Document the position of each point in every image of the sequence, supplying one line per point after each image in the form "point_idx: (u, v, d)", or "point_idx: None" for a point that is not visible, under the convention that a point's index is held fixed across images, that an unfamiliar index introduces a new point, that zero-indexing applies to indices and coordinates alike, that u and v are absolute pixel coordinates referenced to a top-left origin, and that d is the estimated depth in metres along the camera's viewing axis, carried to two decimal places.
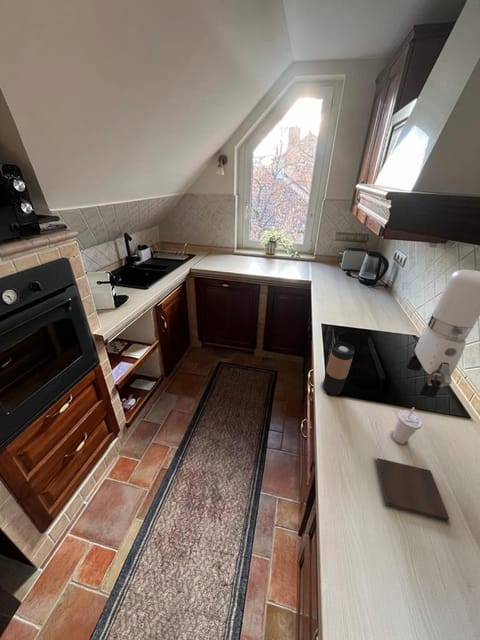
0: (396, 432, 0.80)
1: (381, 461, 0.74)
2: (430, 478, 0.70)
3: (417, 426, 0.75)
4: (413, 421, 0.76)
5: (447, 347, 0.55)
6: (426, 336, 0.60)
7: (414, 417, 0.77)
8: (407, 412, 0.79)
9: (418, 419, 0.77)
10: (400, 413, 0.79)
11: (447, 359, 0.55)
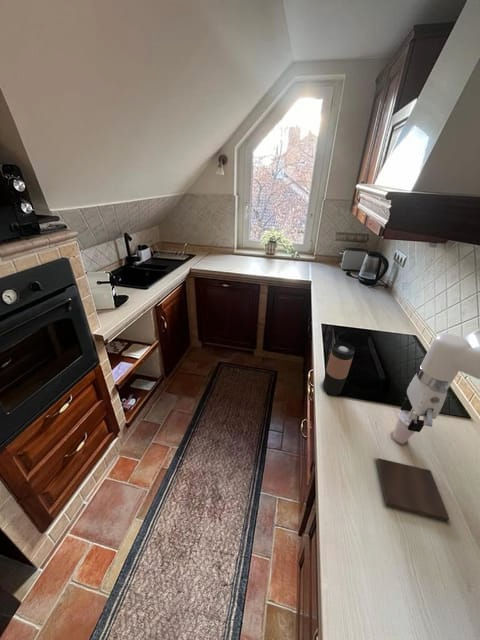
0: (396, 432, 0.80)
1: (381, 461, 0.74)
2: (430, 478, 0.70)
3: None
4: None
5: (432, 396, 0.66)
6: (416, 383, 0.72)
7: (414, 417, 0.77)
8: (407, 412, 0.79)
9: None
10: (400, 413, 0.79)
11: (432, 405, 0.67)
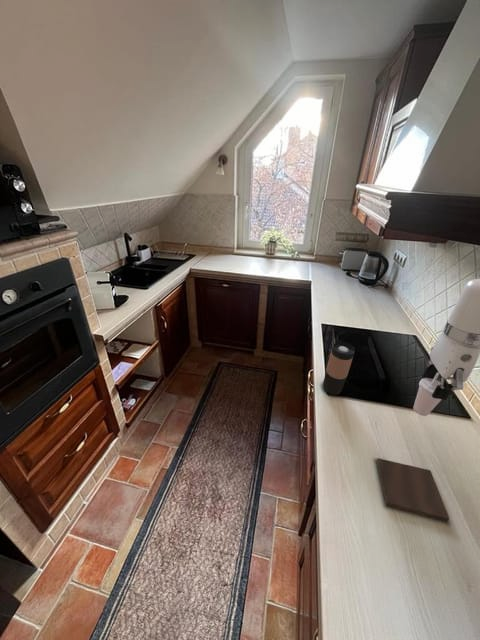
0: (417, 403, 0.71)
1: (381, 461, 0.74)
2: (430, 478, 0.70)
3: None
4: None
5: (463, 353, 0.57)
6: (441, 342, 0.63)
7: (438, 384, 0.68)
8: (430, 380, 0.70)
9: None
10: (422, 381, 0.69)
11: (463, 364, 0.58)
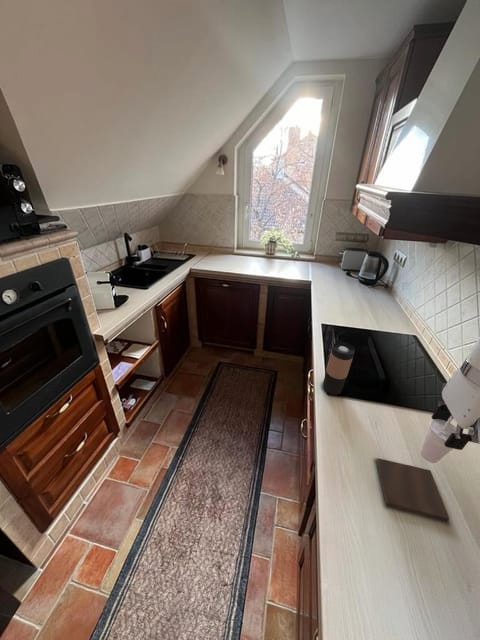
0: (426, 448, 0.60)
1: (381, 461, 0.74)
2: (430, 478, 0.70)
3: None
4: None
5: None
6: (458, 383, 0.52)
7: (451, 429, 0.58)
8: (441, 422, 0.59)
9: None
10: (432, 423, 0.59)
11: None
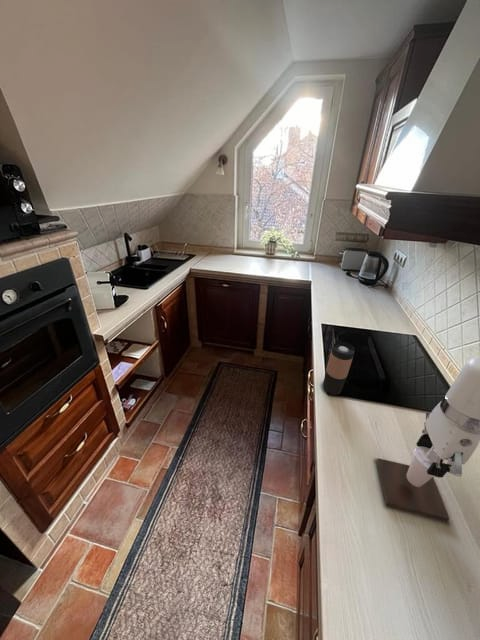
0: (411, 473, 0.65)
1: (381, 461, 0.74)
2: None
3: None
4: None
5: (462, 437, 0.51)
6: (438, 416, 0.57)
7: (434, 456, 0.62)
8: (425, 449, 0.64)
9: None
10: (416, 450, 0.63)
11: (462, 449, 0.52)
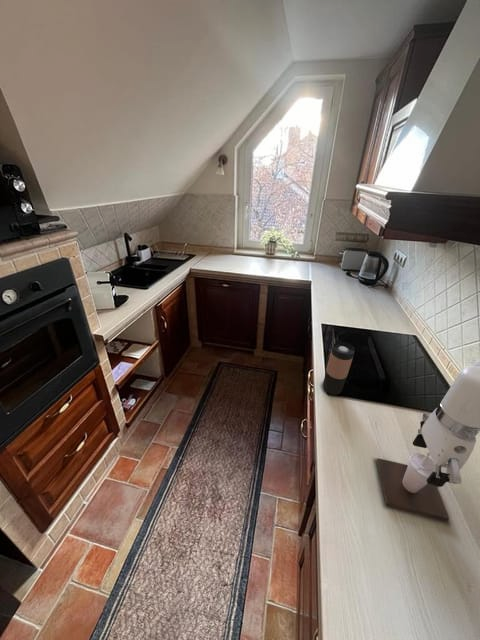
0: (406, 479, 0.66)
1: (381, 461, 0.74)
2: None
3: None
4: (428, 469, 0.62)
5: (456, 444, 0.52)
6: (434, 423, 0.58)
7: (429, 463, 0.64)
8: (420, 456, 0.65)
9: (434, 466, 0.63)
10: (411, 457, 0.65)
11: (456, 455, 0.53)
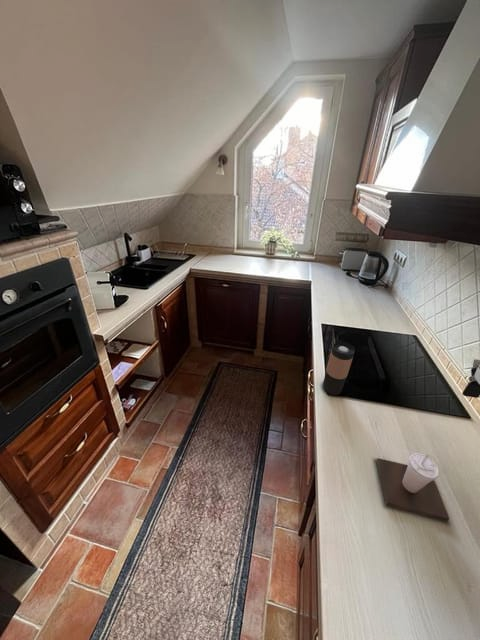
0: (406, 479, 0.66)
1: (381, 461, 0.74)
2: None
3: (433, 476, 0.61)
4: (428, 469, 0.62)
5: None
6: None
7: (429, 463, 0.64)
8: (420, 456, 0.65)
9: (434, 466, 0.63)
10: (411, 457, 0.65)
11: None
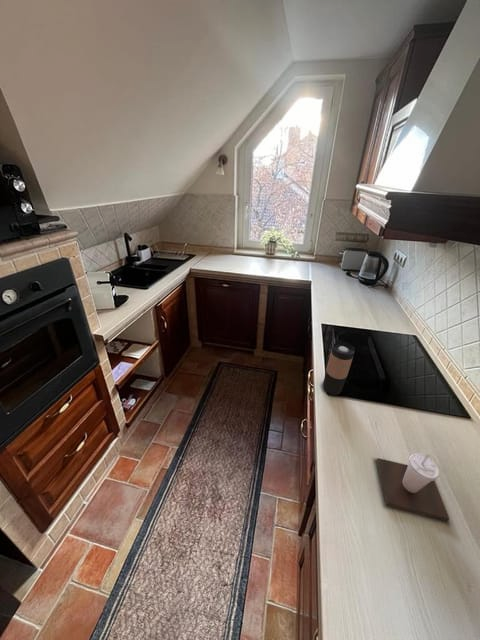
0: (406, 479, 0.66)
1: (381, 461, 0.74)
2: None
3: (433, 476, 0.61)
4: (428, 469, 0.62)
5: None
6: None
7: (429, 463, 0.64)
8: (420, 456, 0.65)
9: (434, 466, 0.63)
10: (412, 457, 0.65)
11: None
